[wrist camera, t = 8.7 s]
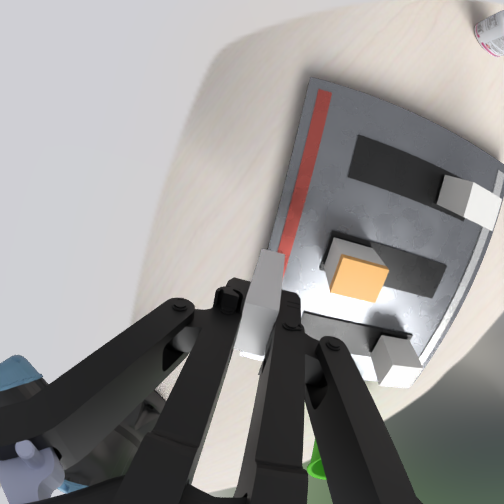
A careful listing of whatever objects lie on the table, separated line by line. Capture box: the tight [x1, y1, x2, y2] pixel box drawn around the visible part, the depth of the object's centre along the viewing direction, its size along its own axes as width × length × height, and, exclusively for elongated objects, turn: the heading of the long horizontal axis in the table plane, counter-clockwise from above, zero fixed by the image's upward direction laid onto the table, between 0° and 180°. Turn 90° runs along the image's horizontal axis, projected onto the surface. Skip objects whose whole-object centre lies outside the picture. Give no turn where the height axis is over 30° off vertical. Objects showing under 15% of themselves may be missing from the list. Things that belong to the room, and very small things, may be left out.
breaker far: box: [370, 335, 423, 388], centre depth 26 cm, size 4×3×5 cm
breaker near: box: [437, 175, 502, 231], centre depth 19 cm, size 4×3×5 cm
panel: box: [240, 77, 504, 385], centre depth 26 cm, size 24×30×2 cm
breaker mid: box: [324, 237, 389, 303], centre depth 23 cm, size 4×3×5 cm
